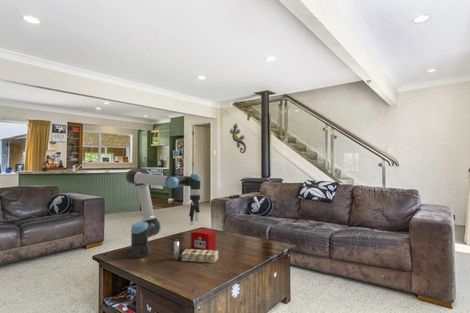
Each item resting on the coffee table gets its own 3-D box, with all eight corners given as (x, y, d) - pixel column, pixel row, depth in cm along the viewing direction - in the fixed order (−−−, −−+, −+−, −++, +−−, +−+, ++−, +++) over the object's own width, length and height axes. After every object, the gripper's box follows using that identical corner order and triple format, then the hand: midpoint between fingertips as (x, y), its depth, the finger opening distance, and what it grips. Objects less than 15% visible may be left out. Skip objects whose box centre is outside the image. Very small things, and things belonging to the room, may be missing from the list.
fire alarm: (190, 250, 216) (190, 231, 216) (198, 247, 225) (198, 228, 225) (208, 254, 208) (208, 234, 208) (215, 250, 218) (215, 231, 218)
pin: (173, 259, 196) (173, 242, 197) (175, 257, 200) (175, 241, 200) (178, 259, 196) (178, 242, 196) (179, 257, 199) (179, 241, 200)
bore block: (181, 260, 194) (181, 253, 194) (186, 255, 204) (186, 248, 204) (215, 262, 191) (215, 255, 191) (218, 257, 200) (218, 250, 201)
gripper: (195, 197, 193) (194, 227, 193) (203, 192, 218) (203, 219, 218) (185, 196, 194) (184, 226, 194) (194, 192, 219) (193, 219, 219)
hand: (194, 223), depth 206 cm, fingers open, 13 cm apart
